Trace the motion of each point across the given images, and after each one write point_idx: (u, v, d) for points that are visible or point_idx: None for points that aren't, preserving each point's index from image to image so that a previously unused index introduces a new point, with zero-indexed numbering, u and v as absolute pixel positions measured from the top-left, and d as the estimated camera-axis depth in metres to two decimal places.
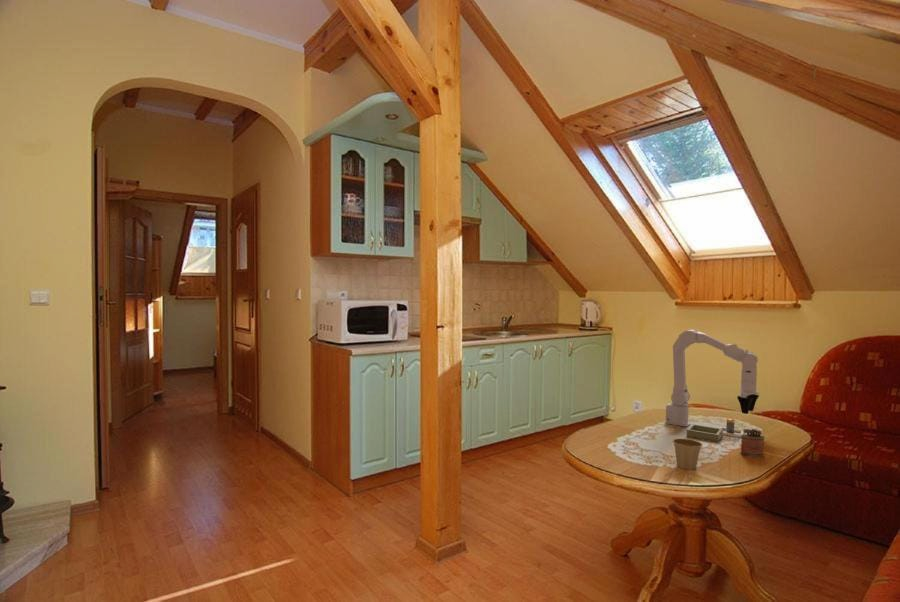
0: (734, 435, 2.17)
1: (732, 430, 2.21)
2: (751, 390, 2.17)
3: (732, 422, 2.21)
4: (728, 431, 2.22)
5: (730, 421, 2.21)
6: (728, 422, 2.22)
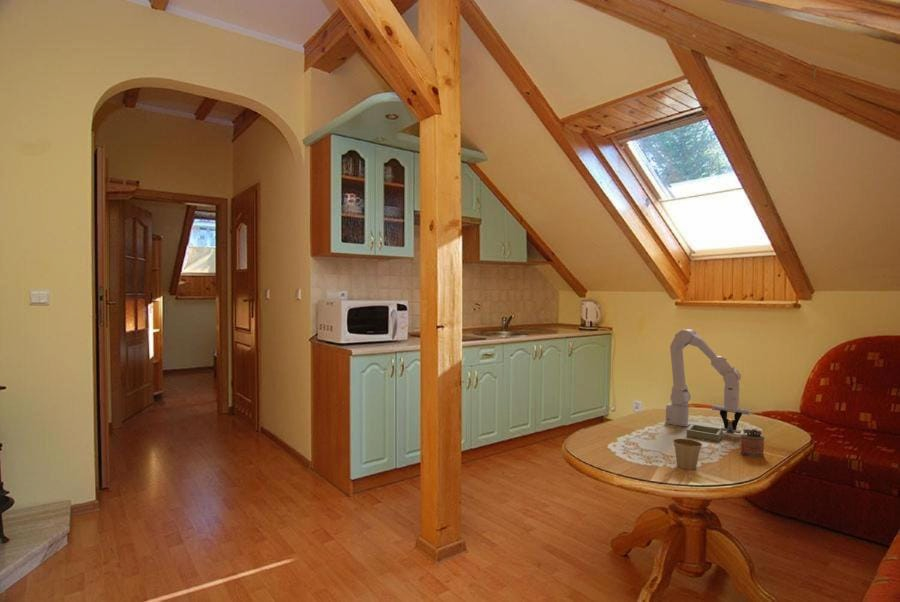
0: (734, 435, 2.17)
1: (732, 430, 2.21)
2: (724, 406, 2.22)
3: (732, 422, 2.21)
4: (728, 431, 2.22)
5: (730, 421, 2.21)
6: (728, 422, 2.22)
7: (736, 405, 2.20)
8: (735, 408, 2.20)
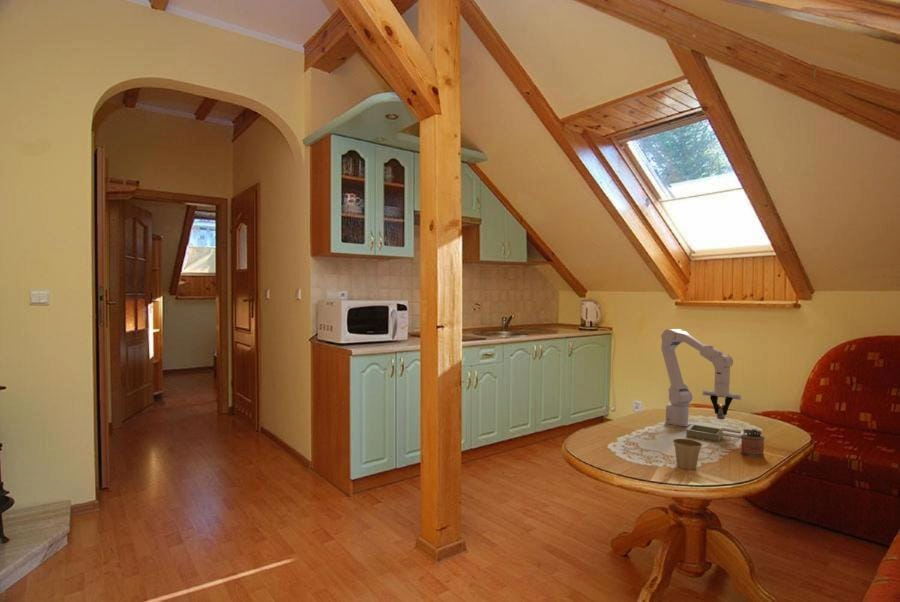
0: (734, 435, 2.17)
1: (723, 415, 2.19)
2: (715, 390, 2.20)
3: (722, 407, 2.19)
4: (718, 416, 2.20)
5: (720, 406, 2.19)
6: (718, 407, 2.20)
7: (727, 390, 2.17)
8: (726, 393, 2.17)
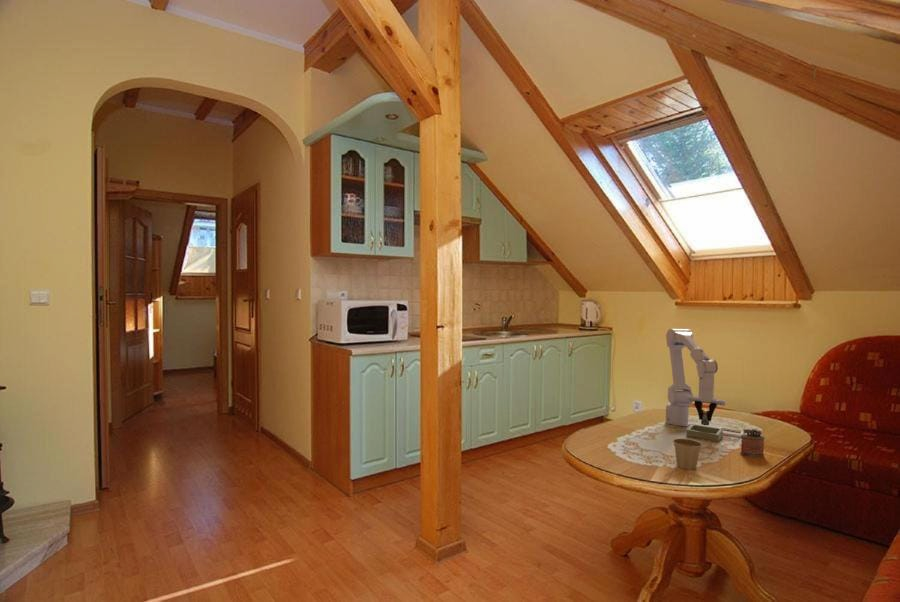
0: (734, 435, 2.17)
1: (707, 421, 2.15)
2: (699, 396, 2.16)
3: (707, 413, 2.15)
4: (703, 422, 2.16)
5: (704, 412, 2.16)
6: (702, 413, 2.16)
7: (711, 395, 2.14)
8: (710, 398, 2.14)
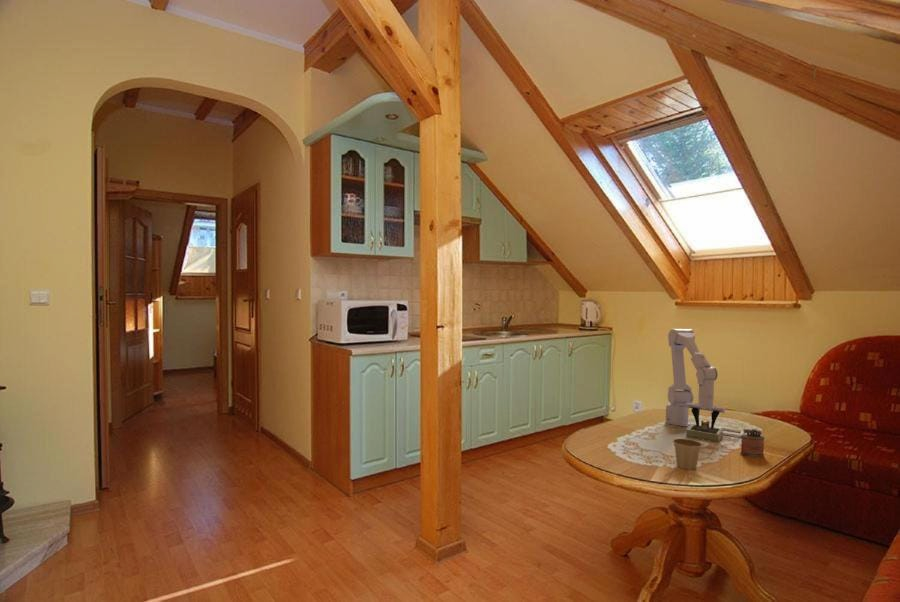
0: (734, 435, 2.17)
1: None
2: (699, 403, 2.16)
3: (706, 424, 2.15)
4: None
5: (704, 422, 2.16)
6: (702, 424, 2.16)
7: (710, 403, 2.14)
8: (709, 406, 2.14)
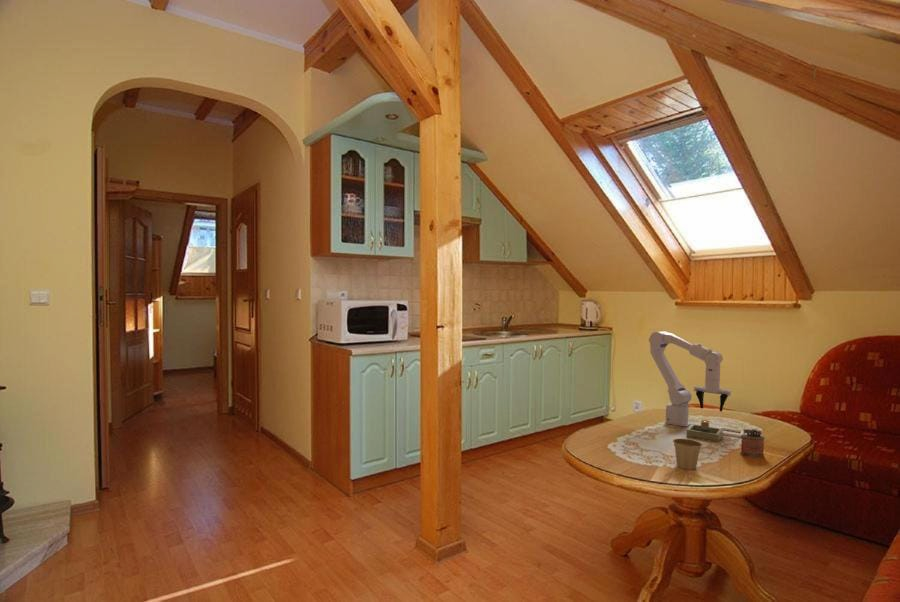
0: (734, 435, 2.17)
1: None
2: (705, 387, 2.26)
3: (706, 423, 2.15)
4: None
5: (704, 422, 2.16)
6: (702, 424, 2.16)
7: (717, 386, 2.23)
8: (716, 389, 2.23)
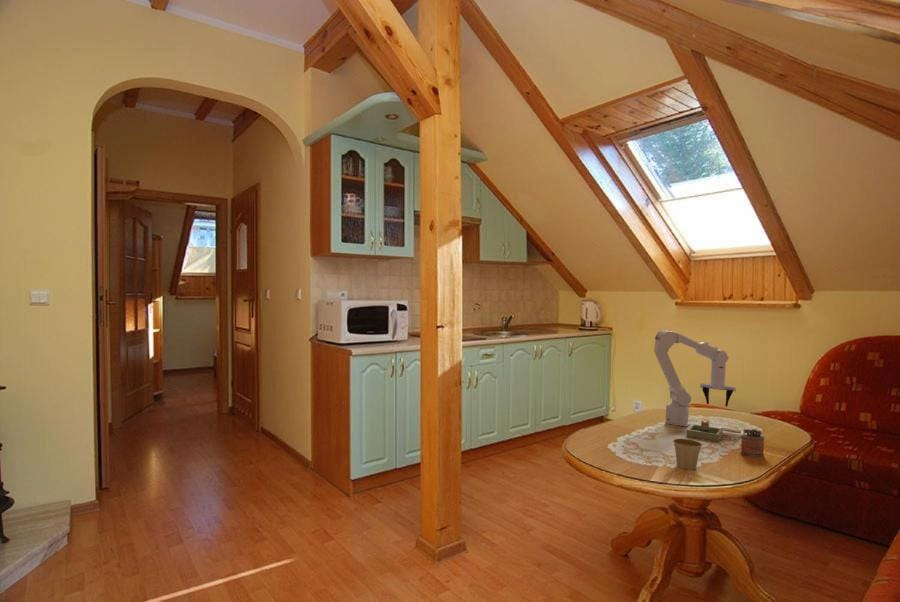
0: (734, 435, 2.17)
1: None
2: (712, 383, 2.35)
3: (706, 424, 2.15)
4: None
5: (704, 422, 2.16)
6: (702, 424, 2.16)
7: (722, 382, 2.33)
8: (722, 385, 2.33)
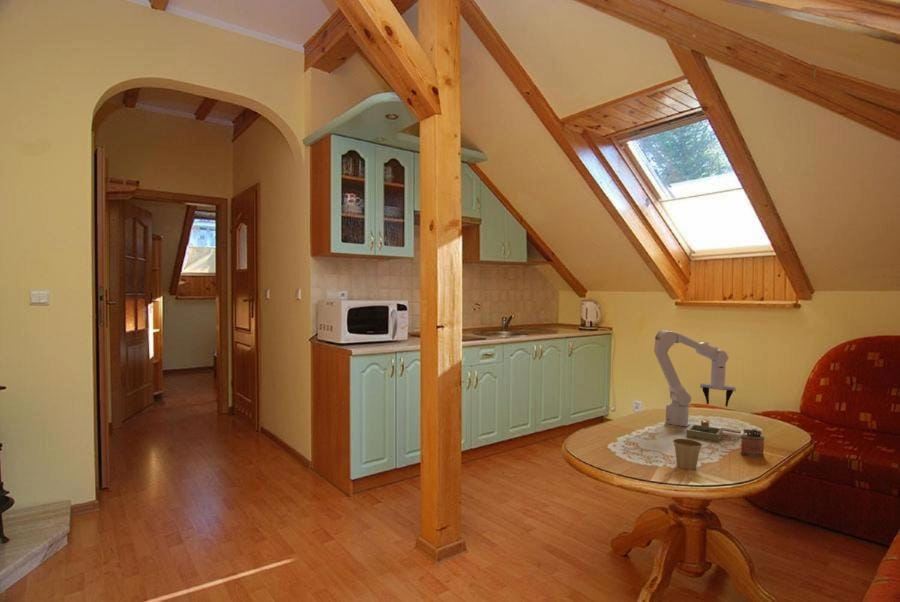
0: (734, 435, 2.17)
1: None
2: (712, 383, 2.35)
3: (706, 424, 2.15)
4: None
5: (704, 422, 2.16)
6: (702, 424, 2.16)
7: (722, 382, 2.33)
8: (722, 385, 2.33)
